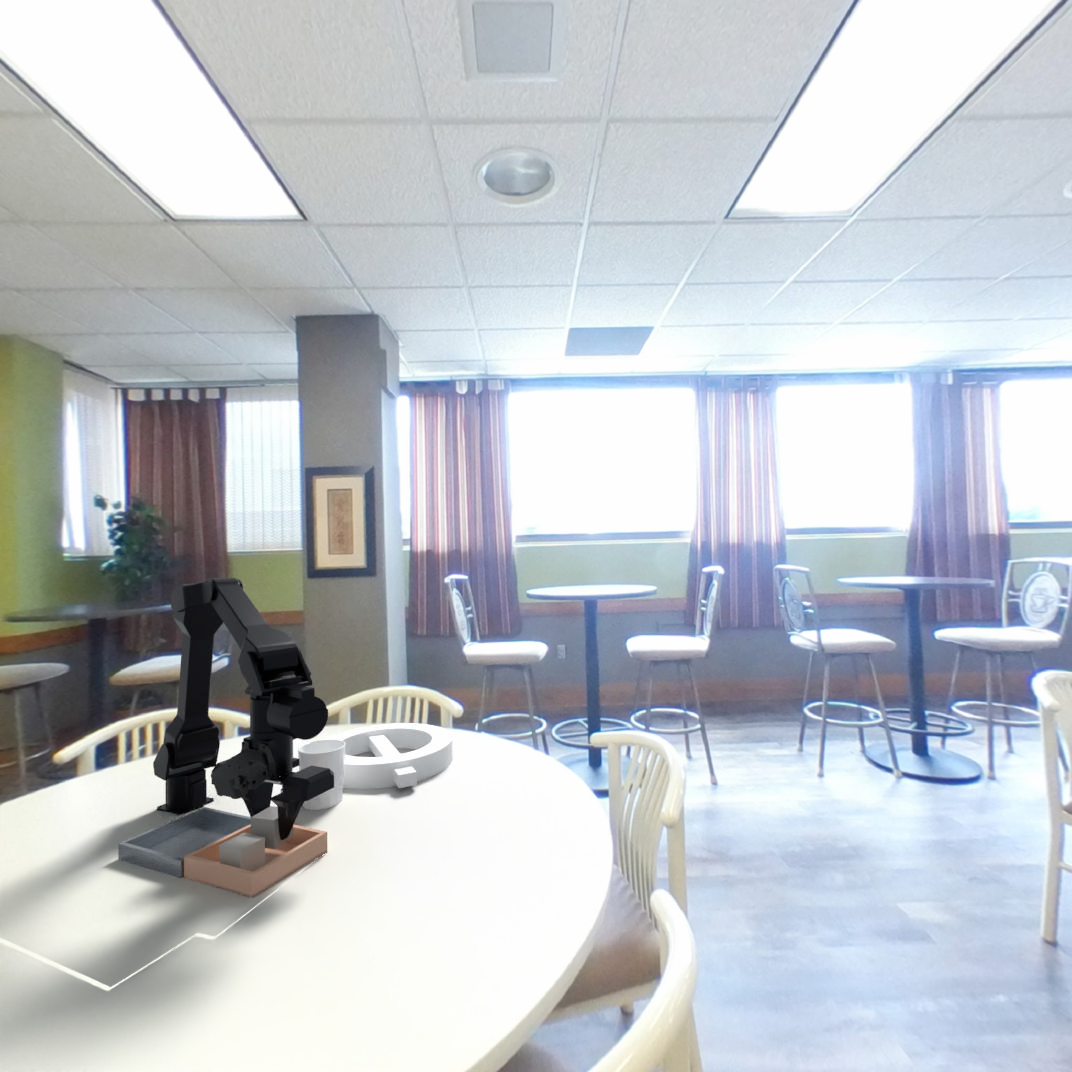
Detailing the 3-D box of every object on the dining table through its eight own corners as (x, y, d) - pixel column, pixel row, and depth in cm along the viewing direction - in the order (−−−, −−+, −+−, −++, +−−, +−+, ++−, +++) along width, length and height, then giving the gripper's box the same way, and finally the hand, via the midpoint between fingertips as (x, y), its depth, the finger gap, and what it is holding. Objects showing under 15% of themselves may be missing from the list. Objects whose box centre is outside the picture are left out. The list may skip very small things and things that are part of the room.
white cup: (330, 814, 101) (330, 754, 101) (289, 811, 102) (288, 752, 103) (354, 795, 109) (353, 740, 109) (315, 793, 110) (314, 738, 110)
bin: (118, 861, 86) (118, 843, 86) (204, 822, 99) (204, 806, 99) (180, 880, 81) (180, 861, 81) (264, 836, 93) (263, 820, 93)
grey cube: (250, 845, 85) (250, 817, 85) (270, 833, 89) (270, 806, 89) (274, 849, 84) (274, 820, 84) (293, 836, 88) (293, 808, 88)
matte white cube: (219, 875, 81) (219, 845, 81) (244, 861, 85) (244, 832, 85) (240, 881, 79) (240, 850, 79) (265, 866, 83) (264, 837, 83)
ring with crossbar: (367, 739, 144) (366, 719, 144) (473, 748, 135) (473, 727, 135) (284, 782, 117) (283, 758, 117) (410, 797, 108) (410, 770, 108)
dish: (183, 879, 81) (183, 856, 81) (263, 837, 93) (263, 817, 93) (252, 899, 76) (252, 875, 76) (327, 852, 87) (327, 831, 88)
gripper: (176, 736, 84) (176, 849, 83) (273, 751, 76) (274, 876, 75) (244, 716, 94) (245, 817, 93) (336, 728, 86) (337, 838, 86)
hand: (272, 836), depth 87 cm, fingers closed on grey cube, 4 cm apart
